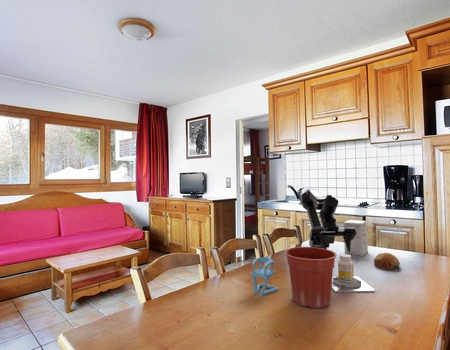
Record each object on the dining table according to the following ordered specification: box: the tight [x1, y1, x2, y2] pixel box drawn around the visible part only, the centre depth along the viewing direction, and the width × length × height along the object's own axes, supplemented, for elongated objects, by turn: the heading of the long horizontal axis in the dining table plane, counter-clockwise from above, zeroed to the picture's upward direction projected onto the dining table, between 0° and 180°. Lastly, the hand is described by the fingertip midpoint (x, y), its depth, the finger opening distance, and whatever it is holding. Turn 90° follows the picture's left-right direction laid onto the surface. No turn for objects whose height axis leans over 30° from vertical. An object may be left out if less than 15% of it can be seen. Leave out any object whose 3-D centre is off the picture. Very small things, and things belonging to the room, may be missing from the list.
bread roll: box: [373, 252, 401, 271], centre depth 127 cm, size 10×10×8 cm
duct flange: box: [331, 275, 376, 294], centre depth 107 cm, size 14×14×2 cm
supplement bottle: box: [337, 253, 354, 283], centre depth 107 cm, size 5×5×10 cm
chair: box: [250, 256, 279, 297], centre depth 103 cm, size 8×8×12 cm
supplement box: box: [343, 219, 369, 257], centre depth 151 cm, size 10×9×17 cm
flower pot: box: [284, 246, 337, 309], centre depth 94 cm, size 16×16×16 cm
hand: (337, 251), depth 115 cm, fingers open, 9 cm apart
